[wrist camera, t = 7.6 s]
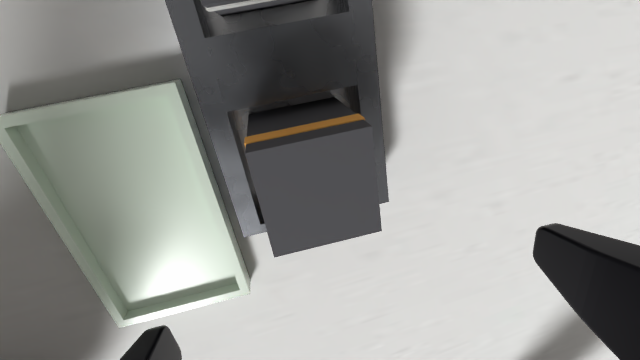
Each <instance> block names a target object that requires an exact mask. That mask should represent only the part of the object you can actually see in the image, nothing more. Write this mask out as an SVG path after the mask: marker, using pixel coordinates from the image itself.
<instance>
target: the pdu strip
mask: <svg viewBox="0 0 640 360" xmlns="http://www.w3.org/2000/svg"><path fill="white" fill-rule="evenodd" d="M165 2H166V5H167V8H168V11H169V14H170V17H171V20H172V23H173V26H174V29H175V32H176V35H177V38H178V41H179V44H180V47H181V50H182V53H183V56H184V59H185V62H186V65H187V68H188V71H189V74H190V77H191V80H192V83H193V86H194V89H195V92H196V95H197V98H198V101H199V104H200V107H201V110H202V113H203V116H204V119H205V122H206V125H207V128H208V131H209V134H210V137H211V140H212V143H213V146H214V149H215V152H216V155H217V158H218V161H219V164H220V167H221V170H222V173H223V176H224V179H225V182H226V185H227V188H228V191H229V194H230V197H231V200H232V203H233V206H234V209H235V212H236V215H237V218H238V221H239V224H240V227H241V230H242V233H243V236H244V237H247V236H251V235H255V234H259V233H263V232H267V229H266V226H265V222H264V219H263V215H262V212H261V208H260V205H259V201H258V197H257V194H256V190H255V187H254V183H253V180H252V176H251V173H250V169H249V166H248V162H247V158H246V155H245V149H246V148H245V145H244V140H245V137H247V126H248V115H249V114H252V113H257V112H262V111H267V110H272V109H277V108H282V107H287V106H291V105H296V104H301V103H306V102H311V101H316V100H321V99H326V98H331V97H335V98H337V99H338V100H339V101H340V102H342V103H343V104H344V105H346V106H347V107H348V108H349V109H351V110H352V111H353V112H355V113H356V114H358V113H359V114H360V115H361V116H363V117H364V118H365V121H366V122H367V123H369V124H370V125H371V126H372V131H373V142H374V152H375V163H376V174H377V185H378V196H379V204H381V203H385V202H389V199H388V187H387V175H386V163H385V151H384V139H383V127H382V115H381V103H380V91H379V79H378V67H377V55H376V44H375V32H374V20H373V8H372V0H312V1H307V2H301V3H296V4H290V5H285V6H279V7H273V8H268V9H262V10H257V11H251V12H246V13H240V14H234V15H229V16H223V17H222V16H220V15H219V14H217V13H215V12H213V11H212V12H209V11H207V10H206V8H205V6H203V5H202V2H201V0H165Z"/></svg>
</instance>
